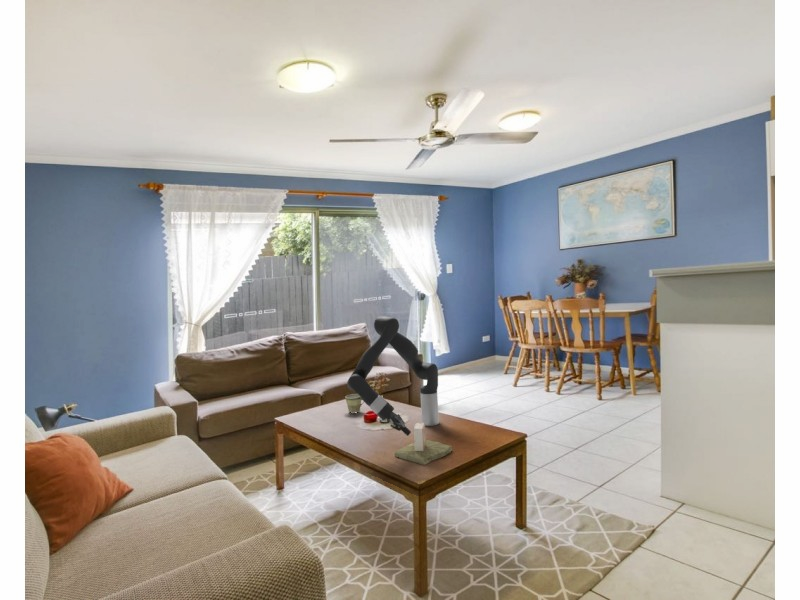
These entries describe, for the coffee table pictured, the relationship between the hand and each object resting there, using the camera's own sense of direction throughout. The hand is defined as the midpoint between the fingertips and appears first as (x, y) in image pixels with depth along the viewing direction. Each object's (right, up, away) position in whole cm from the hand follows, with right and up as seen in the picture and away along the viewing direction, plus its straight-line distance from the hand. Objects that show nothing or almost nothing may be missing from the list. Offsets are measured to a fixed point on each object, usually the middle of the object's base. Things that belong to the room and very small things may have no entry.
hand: (409, 433), depth 200 cm
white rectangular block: (+5, -6, -1) cm, 8 cm away
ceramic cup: (-31, -8, +71) cm, 77 cm away
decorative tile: (+7, -10, -1) cm, 12 cm away
